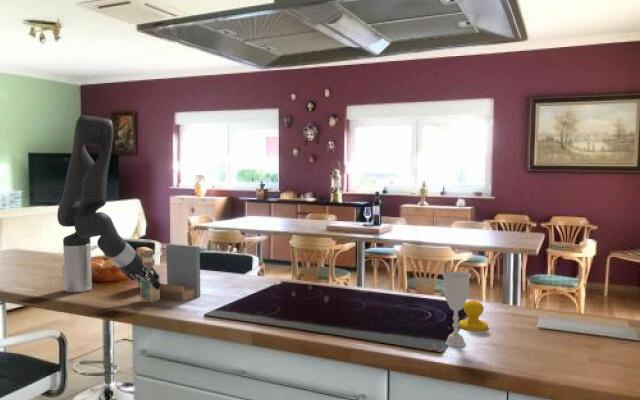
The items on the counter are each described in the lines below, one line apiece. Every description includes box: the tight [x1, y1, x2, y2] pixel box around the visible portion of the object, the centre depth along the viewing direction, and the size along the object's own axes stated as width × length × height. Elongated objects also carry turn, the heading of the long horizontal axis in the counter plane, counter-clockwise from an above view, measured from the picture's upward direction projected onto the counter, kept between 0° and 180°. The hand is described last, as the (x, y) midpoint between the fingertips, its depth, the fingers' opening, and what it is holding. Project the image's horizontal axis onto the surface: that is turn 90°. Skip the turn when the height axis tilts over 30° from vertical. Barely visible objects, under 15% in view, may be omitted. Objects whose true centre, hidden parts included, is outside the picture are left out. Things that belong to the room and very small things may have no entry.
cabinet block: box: [139, 273, 161, 303], centre depth 181 cm, size 5×4×9 cm
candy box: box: [136, 246, 155, 289], centre depth 199 cm, size 9×4×15 cm, turn 33°
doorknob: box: [458, 299, 489, 332], centre depth 150 cm, size 8×8×8 cm
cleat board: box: [160, 243, 201, 302], centre depth 186 cm, size 14×8×18 cm, turn 62°
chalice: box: [441, 271, 472, 348], centre depth 135 cm, size 7×7×18 cm
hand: (152, 286), depth 183 cm, fingers closed on cabinet block, 5 cm apart
